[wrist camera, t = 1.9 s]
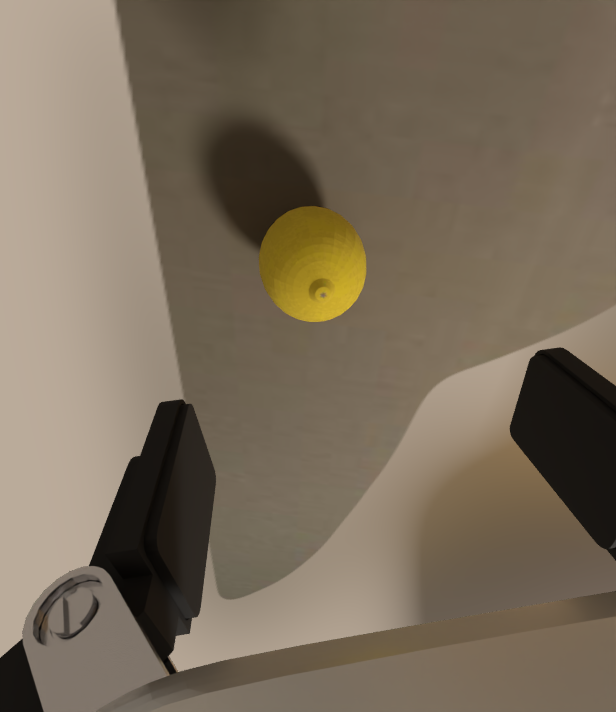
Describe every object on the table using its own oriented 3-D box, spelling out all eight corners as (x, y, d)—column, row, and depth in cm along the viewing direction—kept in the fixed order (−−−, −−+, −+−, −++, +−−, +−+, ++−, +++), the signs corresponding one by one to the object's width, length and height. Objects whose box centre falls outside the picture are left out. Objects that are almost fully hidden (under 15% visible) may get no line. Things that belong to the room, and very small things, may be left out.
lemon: (251, 274, 23) (249, 338, 17) (269, 182, 20) (275, 214, 14) (332, 291, 25) (360, 356, 18) (360, 207, 22) (405, 247, 15)
